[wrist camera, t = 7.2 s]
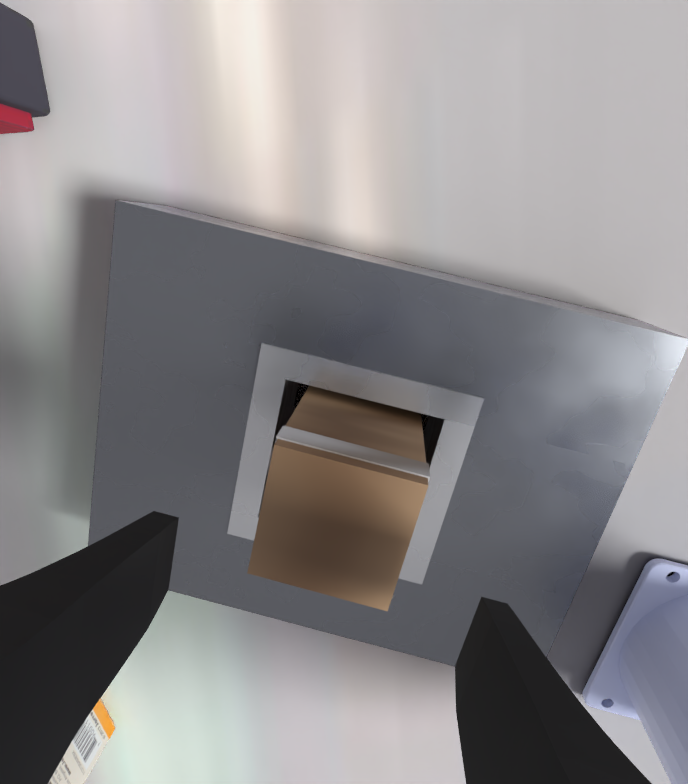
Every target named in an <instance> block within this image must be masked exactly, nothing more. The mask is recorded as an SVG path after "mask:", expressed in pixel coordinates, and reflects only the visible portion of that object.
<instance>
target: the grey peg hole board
mask: <svg viewBox="0 0 688 784" xmlns="http://www.w3.org/2000/svg"><path fill="white" fill-rule="evenodd" d="M687 346H688V339H687V338H685V337H682V336H680V335H677V334H674V333H672V332H669V331H666V330H664V329H661V328H659V327H656V326H653V325H651V324H648V323H645V322H643V321H640V320H637V319H633V318H628V317H624V316H620V315H616V314H612V313H608V312H604V311H600V310H595V309H591V308H587V307H583V306H579V305H575V304H571V303H567V302H562V301H558V300H554V299H550V298H546V297H542V296H538V295H534V294H529V293H525V292H521V291H517V290H513V289H509V288H505V287H501V286H496V285H492V284H488V283H484V282H480V281H476V280H472V279H468V278H463V277H459V276H455V275H451V274H447V273H443V272H439V271H435V270H430V269H426V268H422V267H418V266H414V265H410V264H406V263H402V262H397V261H393V260H389V259H385V258H381V257H377V256H373V255H369V254H364V253H360V252H356V251H352V250H348V249H344V248H340V247H336V246H331V245H327V244H323V243H319V242H315V241H311V240H307V239H303V238H298V237H294V236H290V235H286V234H282V233H278V232H274V231H270V230H265V229H261V228H257V227H253V226H249V225H245V224H241V223H237V222H232V221H228V220H224V219H220V218H216V217H212V216H208V215H204V214H199V213H195V212H191V211H187V210H183V209H179V208H175V207H171V206H166V205H159V204H149V203H139V202H130V201H120V200H116V203H115V215H114V228H113V240H112V253H111V265H110V278H109V291H108V303H107V316H106V328H105V341H104V353H103V366H102V378H101V391H100V403H99V416H98V429H97V441H96V454H95V466H94V479H93V491H92V504H91V516H90V529H89V541H88V546H90V545H91V544H93V543H95V542H97V541H99V540H101V539H103V538H105V537H107V536H109V535H110V534H112V533H114V532H116V531H118V530H120V529H121V528H123V527H125V526H127V525H129V524H131V523H132V522H134V521H136V520H138V519H140V518H142V517H143V516H145V515H147V514H149V513H151V512H153V511H156V512H160V513H164V514H168V515H171V516H175V517H179V521H178V528H177V535H176V542H175V549H174V555H173V562H172V569H171V576H170V583H169V589H168V590H170V591H173V592H177V593H181V594H185V595H188V596H192V597H196V598H200V599H203V600H207V601H211V602H215V603H219V604H222V605H226V606H230V607H234V608H237V609H241V610H245V611H249V612H252V613H256V614H260V615H264V616H267V617H271V618H275V619H279V620H283V621H286V622H290V623H294V624H298V625H301V626H305V627H309V628H313V629H316V630H320V631H324V632H328V633H331V634H335V635H339V636H343V637H346V638H350V639H354V640H358V641H362V642H365V643H369V644H373V645H377V646H380V647H384V648H388V649H392V650H395V651H399V652H403V653H407V654H410V655H414V656H418V657H422V658H425V659H429V660H433V661H437V662H441V663H444V664H448V665H452V666H455V664H456V662H457V659H458V657H459V654H460V651H461V649H462V646H463V644H464V641H465V638H466V636H467V633H468V631H469V628H470V625H471V623H472V620H473V617H474V615H475V612H476V610H477V607H478V604H479V602H480V599H481V597H485V598H488V599H492V600H496V601H500V602H504V603H508V605H509V606H510V607H511V609H512V610H513V611H514V613H515V614H516V615H517V617H518V618H519V620H520V621H521V622H522V624H523V625H524V627H525V628H526V630H527V631H528V632H529V634H530V635H531V637H532V638H533V640H534V641H535V642H536V644H537V645H538V647H539V648H540V649H541V651H542V652H543V654H544V655H545V656H546V657H547V655H548V653H549V650H550V648H551V646H552V644H553V642H554V639H555V637H556V635H557V633H558V631H559V628H560V626H561V624H562V622H563V620H564V617H565V615H566V613H567V611H568V609H569V606H570V604H571V602H572V600H573V598H574V595H575V593H576V591H577V589H578V586H579V584H580V582H581V580H582V578H583V575H584V573H585V571H586V569H587V567H588V564H589V562H590V560H591V558H592V556H593V553H594V551H595V549H596V547H597V545H598V542H599V540H600V538H601V536H602V534H603V531H604V529H605V527H606V525H607V523H608V520H609V518H610V516H611V514H612V512H613V509H614V507H615V505H616V503H617V500H618V498H619V496H620V494H621V492H622V489H623V487H624V485H625V483H626V481H627V478H628V476H629V474H630V472H631V470H632V467H633V465H634V463H635V461H636V459H637V456H638V454H639V452H640V450H641V448H642V445H643V443H644V441H645V439H646V437H647V434H648V432H649V430H650V428H651V425H652V423H653V421H654V419H655V417H656V414H657V412H658V410H659V408H660V406H661V403H662V401H663V399H664V397H665V395H666V392H667V390H668V388H669V386H670V384H671V381H672V379H673V377H674V375H675V373H676V370H677V368H678V366H679V364H680V362H681V359H682V357H683V355H684V353H685V350H686V348H687ZM299 383H302V384H306V385H310V386H314V387H318V388H322V389H326V390H330V391H334V392H338V393H342V394H346V395H350V396H354V397H358V398H362V399H366V400H370V401H374V402H378V403H382V404H386V405H390V406H394V407H398V408H402V409H405V410H409V411H413V412H417V413H421V414H425V415H429V417H428V421H427V424H426V427H425V431H424V434H423V437H424V447H425V456H426V463H428V464H429V471H430V479H429V482H428V485H429V486H428V489H427V492H426V495H425V498H424V501H423V504H422V507H421V510H420V513H419V516H418V519H417V522H416V525H415V529H414V532H413V535H412V538H411V541H410V544H409V547H408V550H407V553H406V556H405V559H404V562H403V565H402V568H401V572H400V575H399V578H398V581H397V584H396V587H395V590H394V593H393V596H392V599H391V602H390V605H389V608H388V611H384V610H380V609H377V608H373V607H369V606H366V605H362V604H358V603H355V602H351V601H347V600H344V599H340V598H336V597H333V596H329V595H325V594H322V593H318V592H314V591H310V590H307V589H303V588H299V587H296V586H292V585H288V584H285V583H281V582H277V581H274V580H270V579H266V578H263V577H259V576H255V575H252V574H248V573H247V572H248V567H249V562H250V558H251V553H252V548H253V543H254V539H255V534H256V529H257V524H258V520H259V515H260V510H261V505H262V501H263V496H264V491H265V486H266V482H267V477H268V472H269V467H270V463H271V458H272V453H273V448H274V444H275V440H276V436H277V435H278V433H279V431H280V430H281V428H282V426H283V425H284V426H286V424H287V422H288V421H289V419H290V417H291V416H292V413H293V408H294V403H295V399H296V394H297V389H298V384H299Z"/></svg>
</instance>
